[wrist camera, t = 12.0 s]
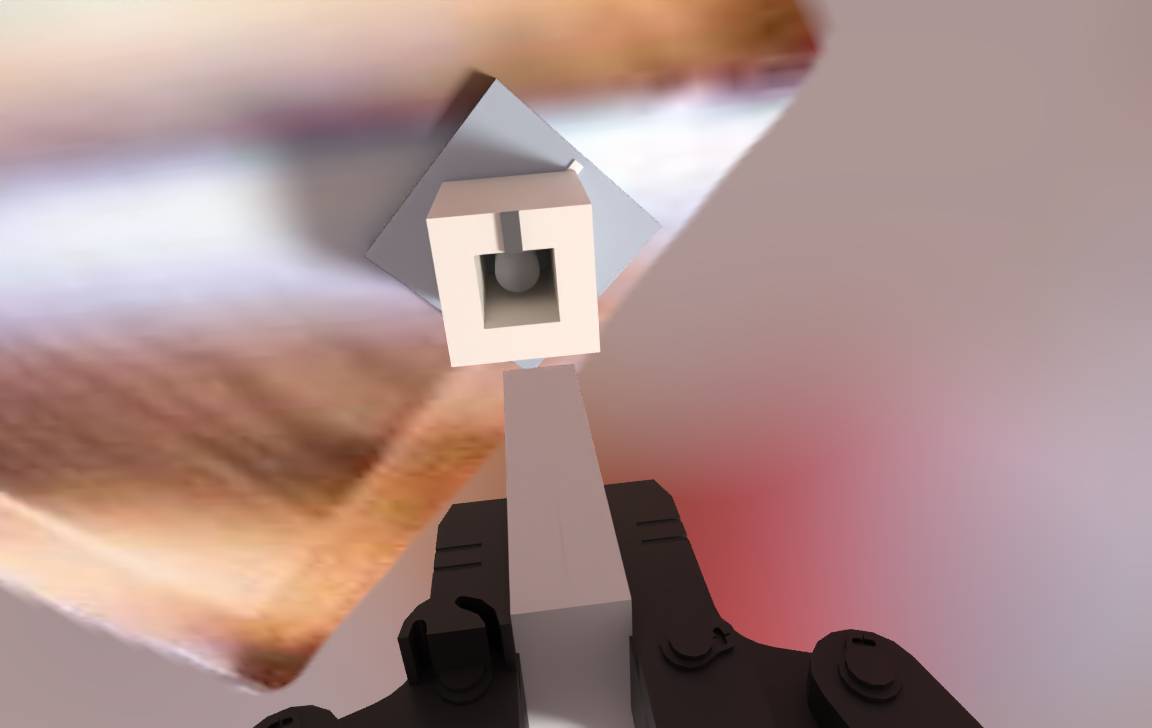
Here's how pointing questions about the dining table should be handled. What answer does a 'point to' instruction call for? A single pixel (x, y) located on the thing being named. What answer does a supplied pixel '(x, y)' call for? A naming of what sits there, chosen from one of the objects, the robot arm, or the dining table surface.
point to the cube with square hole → (512, 225)
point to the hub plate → (496, 149)
